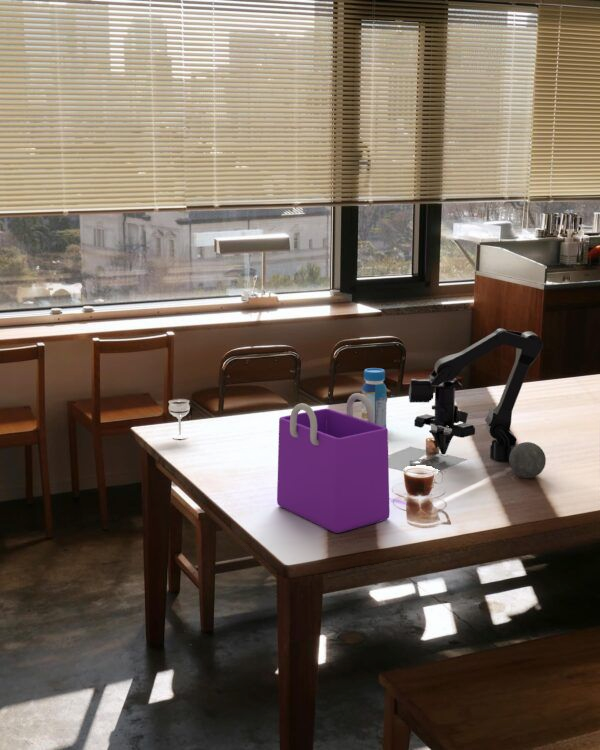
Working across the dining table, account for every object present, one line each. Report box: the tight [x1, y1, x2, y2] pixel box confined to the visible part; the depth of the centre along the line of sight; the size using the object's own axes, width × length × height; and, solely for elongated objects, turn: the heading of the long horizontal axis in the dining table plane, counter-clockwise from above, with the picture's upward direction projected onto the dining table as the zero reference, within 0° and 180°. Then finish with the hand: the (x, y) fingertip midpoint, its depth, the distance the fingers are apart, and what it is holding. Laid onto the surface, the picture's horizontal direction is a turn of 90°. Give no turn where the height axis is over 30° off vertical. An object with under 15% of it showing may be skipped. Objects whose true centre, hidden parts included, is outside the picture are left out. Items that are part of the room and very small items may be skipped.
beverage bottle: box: [361, 367, 388, 428], centre depth 333 cm, size 8×8×20 cm
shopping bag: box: [276, 392, 390, 534], centre depth 257 cm, size 28×22×30 cm
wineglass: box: [168, 398, 191, 436], centre depth 326 cm, size 7×7×12 cm
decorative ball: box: [508, 441, 547, 479], centre depth 286 cm, size 10×10×10 cm
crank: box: [410, 437, 440, 466], centre depth 297 cm, size 15×6×5 cm, turn 152°
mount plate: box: [388, 446, 467, 472], centre depth 299 cm, size 20×21×1 cm
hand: (443, 454), depth 300 cm, fingers closed
